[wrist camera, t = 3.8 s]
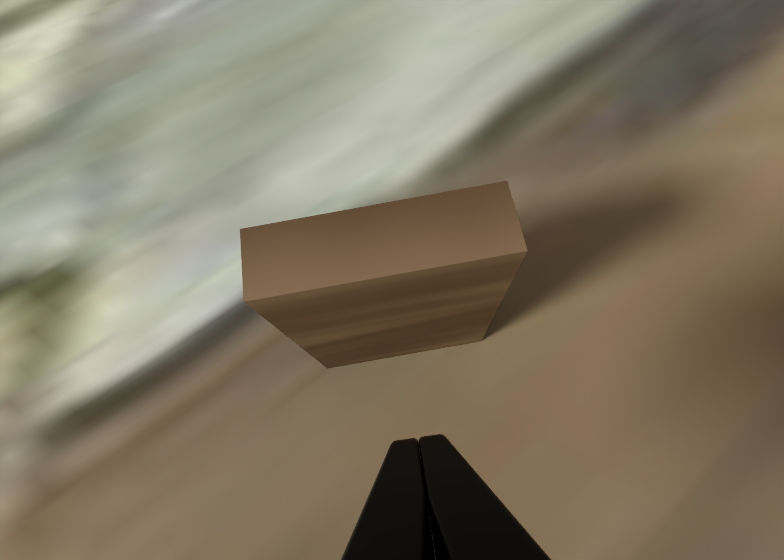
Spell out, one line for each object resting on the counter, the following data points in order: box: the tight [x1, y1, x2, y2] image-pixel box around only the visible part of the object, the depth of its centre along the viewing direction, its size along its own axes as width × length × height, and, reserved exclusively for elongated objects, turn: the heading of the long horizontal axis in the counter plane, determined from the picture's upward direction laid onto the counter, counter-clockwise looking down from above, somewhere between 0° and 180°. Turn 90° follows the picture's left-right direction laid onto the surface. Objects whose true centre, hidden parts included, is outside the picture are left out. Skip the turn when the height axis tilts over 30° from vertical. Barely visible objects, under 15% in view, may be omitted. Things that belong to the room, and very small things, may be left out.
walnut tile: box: [240, 181, 528, 368], centre depth 16 cm, size 2×7×10 cm, turn 101°
